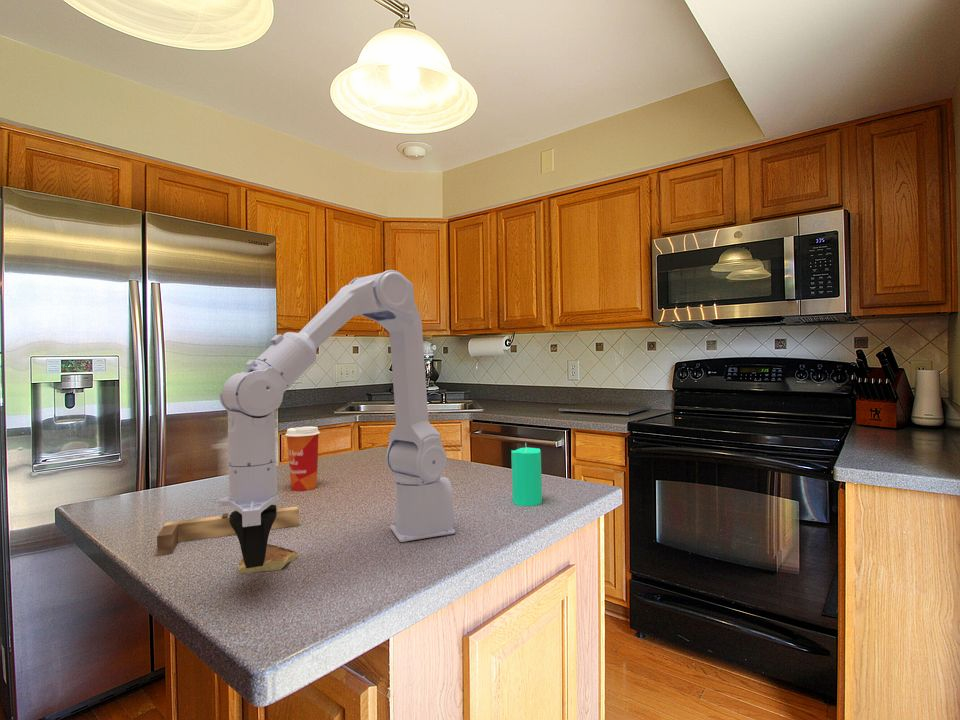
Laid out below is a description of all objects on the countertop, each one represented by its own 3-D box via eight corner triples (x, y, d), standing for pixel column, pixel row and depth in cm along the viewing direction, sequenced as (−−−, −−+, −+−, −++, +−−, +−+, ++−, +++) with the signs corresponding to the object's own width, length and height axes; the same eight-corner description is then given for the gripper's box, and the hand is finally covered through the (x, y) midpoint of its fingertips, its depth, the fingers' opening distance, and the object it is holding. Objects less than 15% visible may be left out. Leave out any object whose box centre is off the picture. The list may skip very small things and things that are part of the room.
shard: (253, 549, 83) (253, 538, 83) (303, 545, 84) (303, 534, 84) (235, 578, 72) (235, 565, 72) (293, 572, 74) (292, 559, 74)
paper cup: (281, 488, 121) (279, 428, 121) (312, 482, 126) (311, 425, 126) (295, 494, 115) (293, 431, 115) (327, 487, 120) (325, 427, 120)
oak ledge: (298, 522, 95) (298, 504, 95) (300, 535, 88) (300, 515, 88) (166, 540, 87) (166, 520, 87) (157, 555, 80) (156, 534, 80)
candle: (534, 496, 108) (533, 439, 108) (547, 504, 103) (545, 443, 103) (508, 499, 106) (506, 441, 106) (519, 507, 101) (517, 446, 101)
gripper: (223, 456, 73) (225, 551, 73) (212, 476, 60) (215, 593, 60) (276, 451, 76) (278, 544, 76) (278, 470, 63) (280, 582, 63)
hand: (254, 565), depth 68 cm, fingers closed
